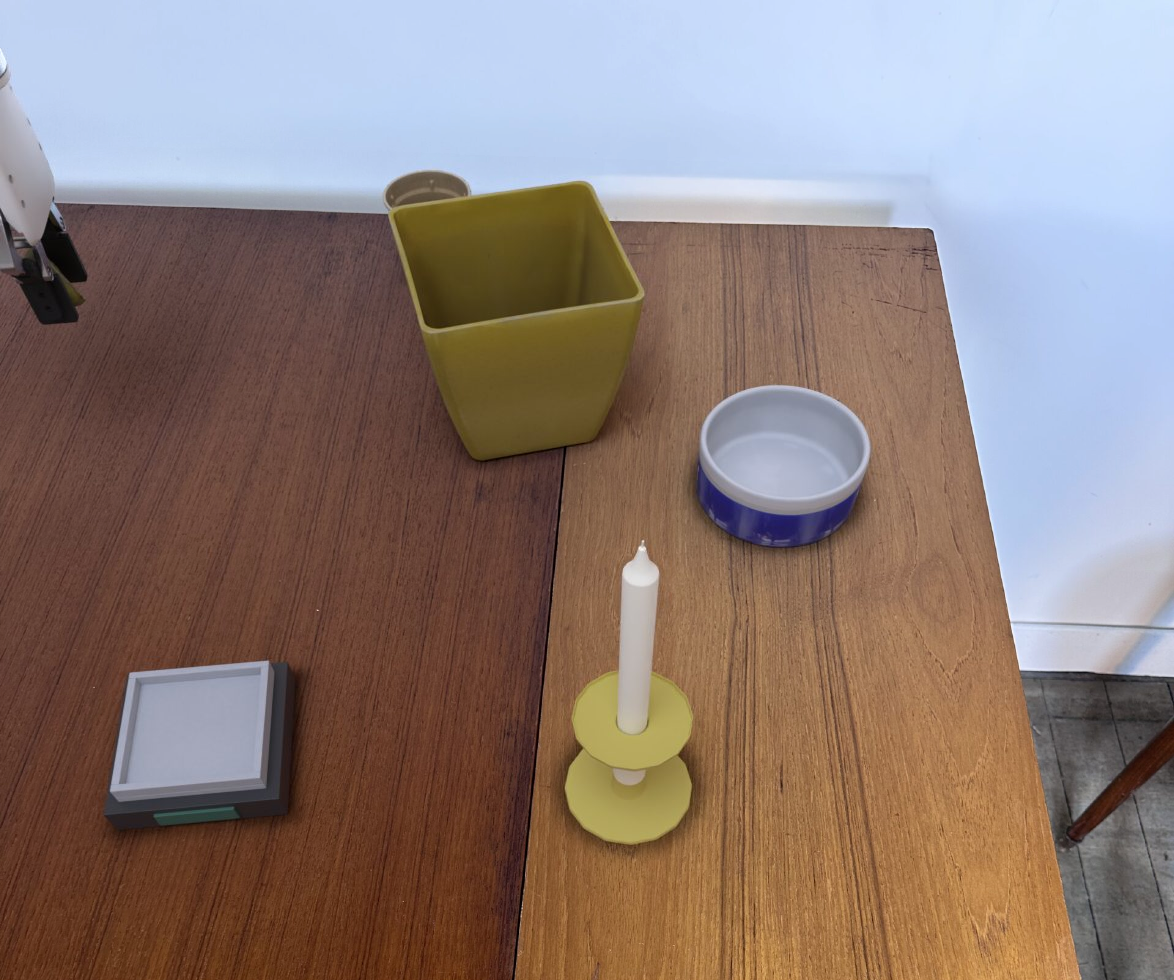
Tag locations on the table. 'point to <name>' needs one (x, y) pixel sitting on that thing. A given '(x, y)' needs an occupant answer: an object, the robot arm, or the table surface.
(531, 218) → the flower pot
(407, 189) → the flower pot
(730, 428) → the dog bowl
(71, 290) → the lime
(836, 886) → the table surface
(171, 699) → the scale
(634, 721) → the candle
